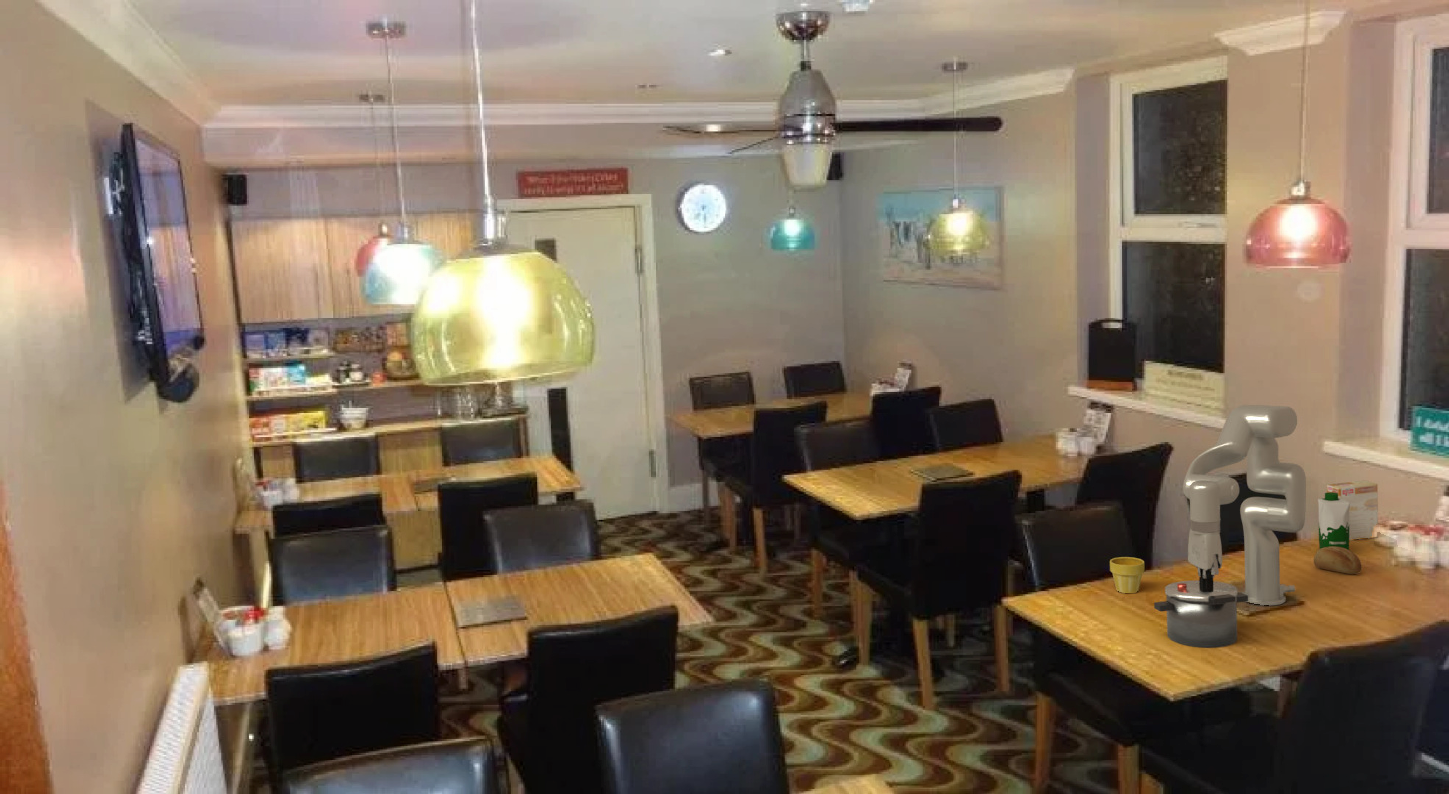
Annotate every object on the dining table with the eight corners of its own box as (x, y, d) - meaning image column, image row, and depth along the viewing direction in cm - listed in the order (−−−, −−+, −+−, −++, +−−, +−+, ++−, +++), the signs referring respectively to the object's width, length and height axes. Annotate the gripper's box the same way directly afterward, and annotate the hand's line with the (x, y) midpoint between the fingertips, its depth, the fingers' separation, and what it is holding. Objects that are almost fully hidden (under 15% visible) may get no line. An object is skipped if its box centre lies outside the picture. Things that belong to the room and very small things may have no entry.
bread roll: (1350, 579, 356) (1350, 554, 355) (1305, 569, 369) (1305, 546, 368) (1368, 573, 361) (1368, 548, 360) (1323, 564, 374) (1323, 540, 373)
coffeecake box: (1365, 533, 405) (1364, 479, 403) (1378, 537, 398) (1378, 483, 396) (1326, 537, 404) (1325, 483, 401) (1339, 542, 397) (1339, 487, 394)
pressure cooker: (1224, 620, 328) (1224, 580, 326) (1264, 641, 309) (1263, 599, 307) (1140, 630, 324) (1138, 589, 323) (1174, 652, 306) (1173, 609, 304)
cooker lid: (1212, 581, 325) (1212, 571, 325) (1257, 599, 304) (1256, 588, 304) (1151, 588, 323) (1151, 577, 323) (1192, 607, 302) (1191, 595, 301)
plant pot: (1140, 585, 365) (1139, 556, 364) (1149, 595, 355) (1148, 564, 354) (1107, 586, 366) (1106, 557, 365) (1115, 596, 356) (1114, 566, 355)
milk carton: (1343, 548, 389) (1342, 491, 386) (1353, 555, 380) (1352, 497, 377) (1315, 549, 390) (1315, 492, 388) (1325, 556, 381) (1324, 498, 379)
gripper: (1178, 521, 316) (1179, 585, 318) (1207, 533, 301) (1208, 600, 304) (1203, 518, 317) (1204, 582, 319) (1233, 531, 302) (1234, 597, 304)
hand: (1206, 591), depth 311 cm, fingers closed
